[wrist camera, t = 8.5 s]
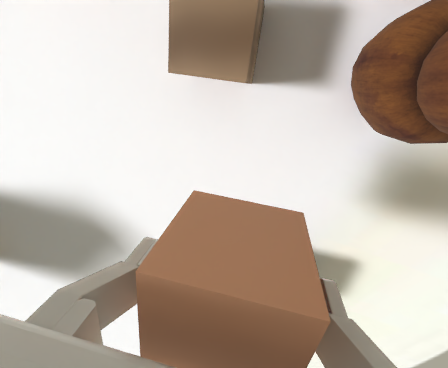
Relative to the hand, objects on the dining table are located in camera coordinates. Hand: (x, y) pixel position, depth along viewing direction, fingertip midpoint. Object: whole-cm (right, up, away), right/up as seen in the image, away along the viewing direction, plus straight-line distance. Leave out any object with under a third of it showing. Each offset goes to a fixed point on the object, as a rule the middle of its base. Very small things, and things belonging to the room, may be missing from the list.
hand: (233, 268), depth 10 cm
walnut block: (0, +15, +8) cm, 16 cm away
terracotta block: (0, +1, +1) cm, 2 cm away
